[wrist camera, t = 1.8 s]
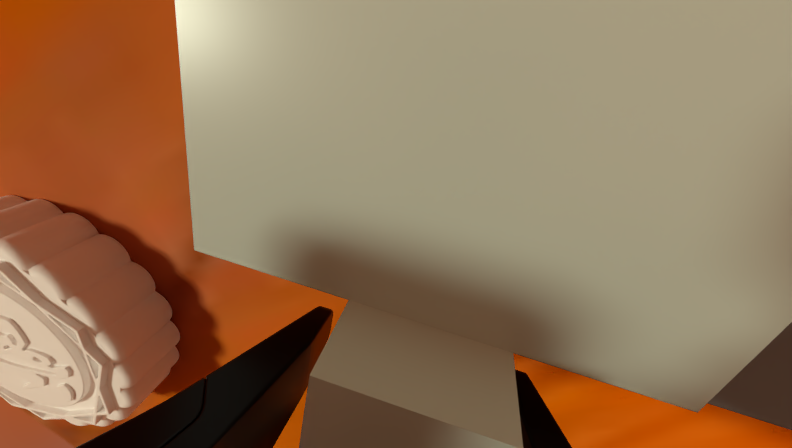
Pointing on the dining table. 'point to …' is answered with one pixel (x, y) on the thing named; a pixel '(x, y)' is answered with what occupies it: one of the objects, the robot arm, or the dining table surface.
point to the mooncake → (76, 318)
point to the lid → (499, 194)
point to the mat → (763, 384)
